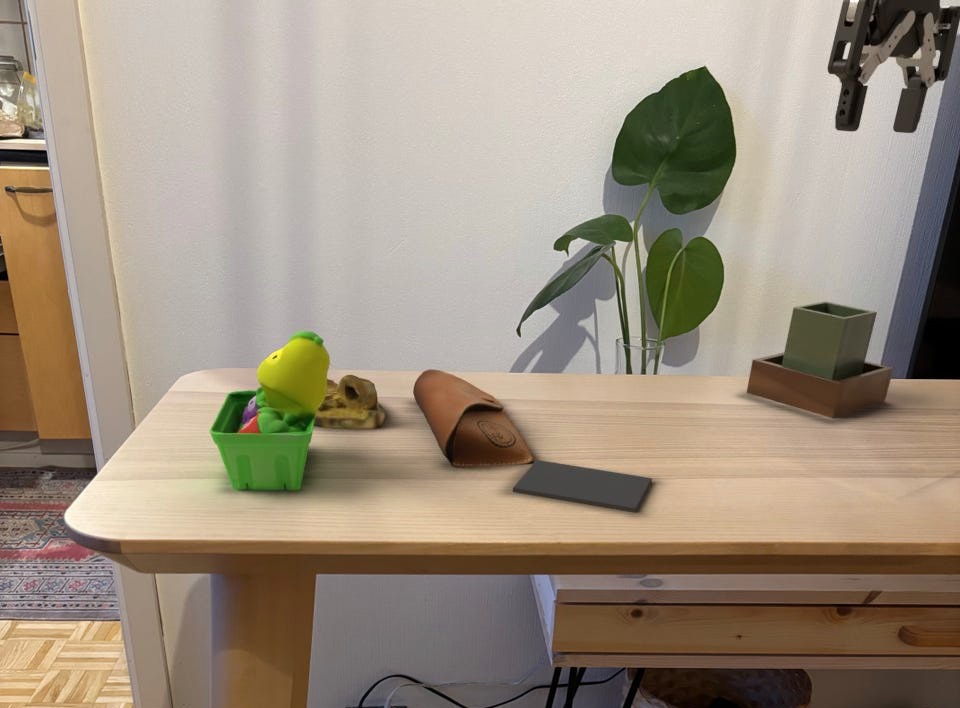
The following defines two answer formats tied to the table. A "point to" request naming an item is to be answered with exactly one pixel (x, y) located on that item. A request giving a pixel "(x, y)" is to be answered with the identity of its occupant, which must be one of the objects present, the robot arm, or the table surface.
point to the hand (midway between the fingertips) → (875, 131)
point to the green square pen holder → (829, 339)
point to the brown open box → (818, 387)
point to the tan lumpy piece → (350, 405)
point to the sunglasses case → (468, 422)
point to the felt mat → (584, 485)
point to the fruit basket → (274, 417)
